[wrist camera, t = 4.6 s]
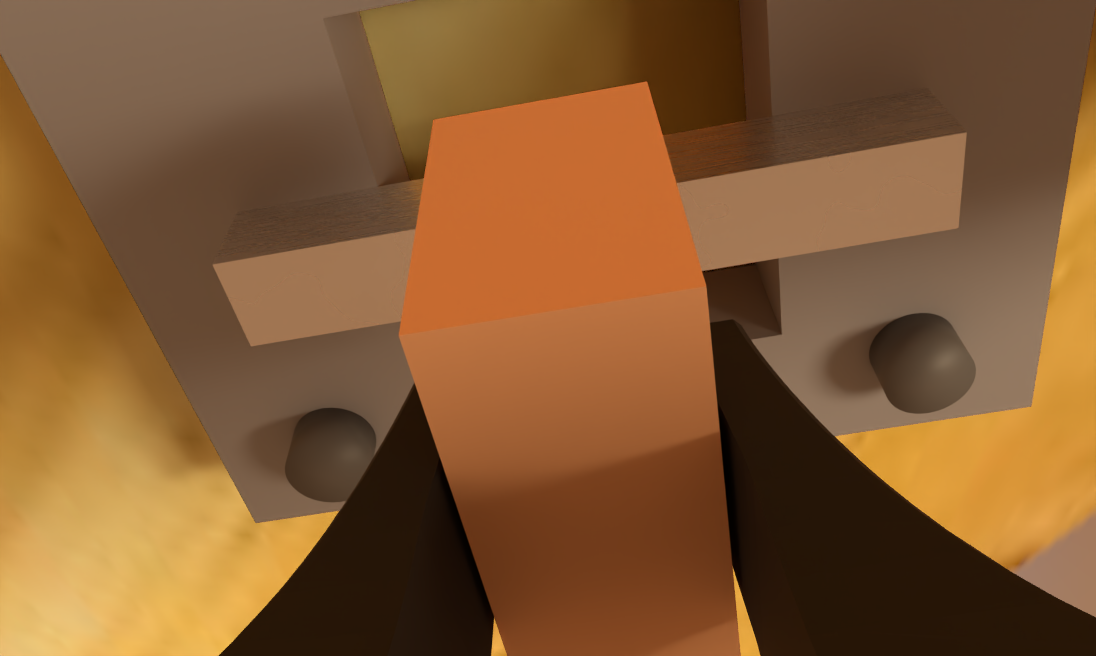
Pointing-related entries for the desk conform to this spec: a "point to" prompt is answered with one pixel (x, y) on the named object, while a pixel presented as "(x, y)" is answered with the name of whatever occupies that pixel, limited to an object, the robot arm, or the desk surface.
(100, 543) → the desk surface
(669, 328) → the orange rectangular block
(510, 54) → the desk surface
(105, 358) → the desk surface
